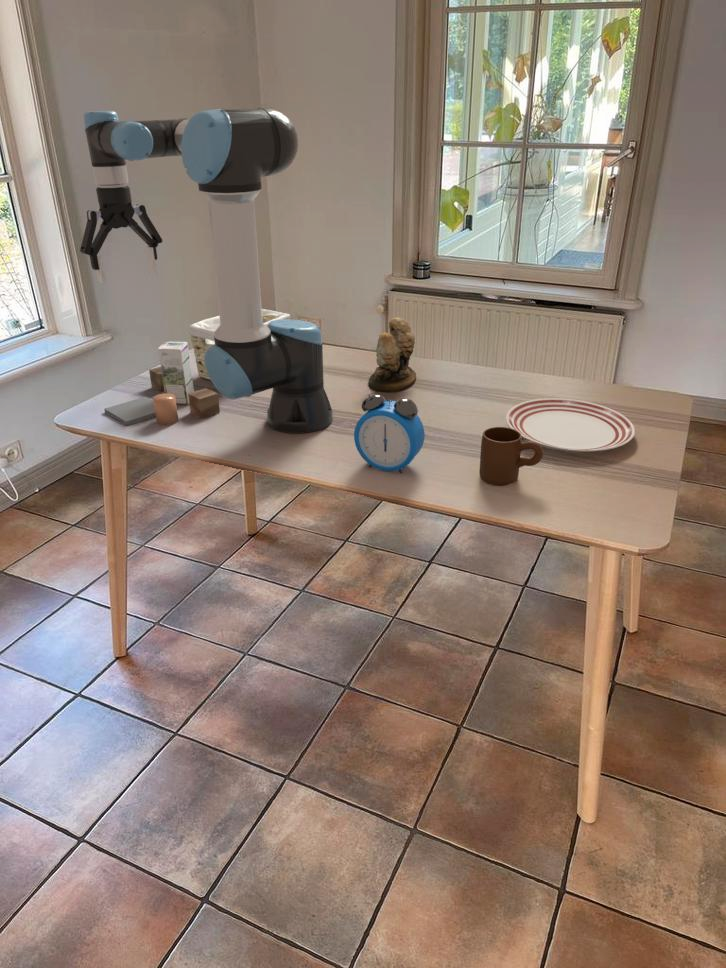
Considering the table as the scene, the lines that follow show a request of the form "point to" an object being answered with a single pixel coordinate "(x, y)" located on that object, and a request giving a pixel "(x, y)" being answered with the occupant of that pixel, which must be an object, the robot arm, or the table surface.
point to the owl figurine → (394, 358)
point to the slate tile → (133, 411)
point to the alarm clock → (389, 432)
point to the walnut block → (204, 403)
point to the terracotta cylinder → (165, 409)
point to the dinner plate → (570, 424)
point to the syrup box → (176, 370)
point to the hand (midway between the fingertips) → (128, 278)
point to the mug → (505, 455)
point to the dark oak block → (157, 379)
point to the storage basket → (205, 336)
